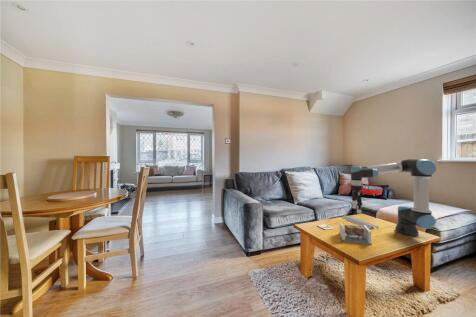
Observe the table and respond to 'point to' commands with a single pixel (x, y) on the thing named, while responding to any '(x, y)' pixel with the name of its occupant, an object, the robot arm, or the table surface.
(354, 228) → the shelf block
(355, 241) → the peg frame
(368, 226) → the crown molding
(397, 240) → the table surface
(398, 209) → the robot arm
